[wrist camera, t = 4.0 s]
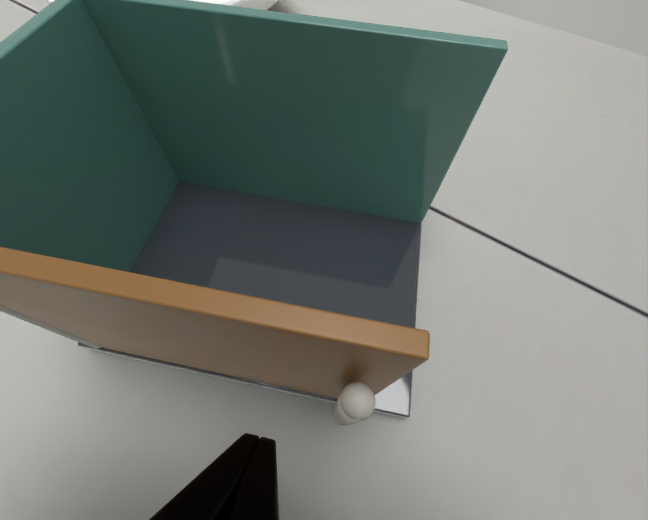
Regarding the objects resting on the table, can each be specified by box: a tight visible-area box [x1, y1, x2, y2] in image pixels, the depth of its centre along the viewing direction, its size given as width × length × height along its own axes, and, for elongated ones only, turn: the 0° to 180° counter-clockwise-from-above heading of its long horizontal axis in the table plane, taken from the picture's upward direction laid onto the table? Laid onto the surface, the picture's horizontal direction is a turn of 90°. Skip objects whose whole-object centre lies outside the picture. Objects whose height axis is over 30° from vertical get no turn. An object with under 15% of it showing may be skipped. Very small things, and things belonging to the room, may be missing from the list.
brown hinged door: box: [0, 247, 430, 425], centre depth 11 cm, size 2×14×10 cm, turn 79°
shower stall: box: [0, 0, 508, 418], centre depth 14 cm, size 12×17×12 cm
